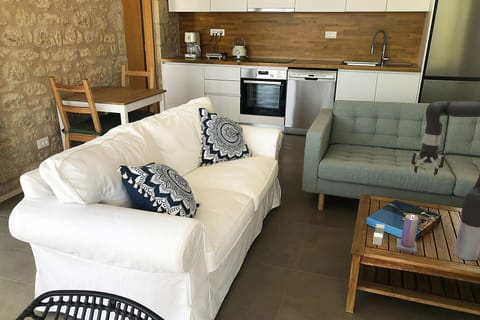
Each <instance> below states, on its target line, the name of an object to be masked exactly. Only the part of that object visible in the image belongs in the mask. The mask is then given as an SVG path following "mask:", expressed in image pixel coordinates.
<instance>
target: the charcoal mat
mask: <svg viewBox="0 0 480 320" xmlns="http://www.w3.org/2000/svg"><path fill="white" fill-rule="evenodd" d="M417 244H418V243H417V241H415V242H414V246H413V247H405V246H403V245H402V244H401V238H399V237H398V238H396V250H399V251H404V252H409V253H413V254H417V253H418V245H417Z"/></svg>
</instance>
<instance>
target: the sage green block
mask: <svg viewBox="0 0 480 320" xmlns="http://www.w3.org/2000/svg"><path fill="white" fill-rule="evenodd" d="M374 230H375V231H374V232H375V233H380V234H383V235H384V232H385V224H381V223H376V224H375V229H374Z"/></svg>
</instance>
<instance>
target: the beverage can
mask: <svg viewBox="0 0 480 320" xmlns="http://www.w3.org/2000/svg"><path fill="white" fill-rule="evenodd" d="M419 221H420V219H419V216H417V215H415V214H410V213H409V214H406V215H405V217H404V222H403V228H402V231H401V232H402V233H401V238H400V239H401V244H402V245H403V246H405V247H413V246H414V242H416V236H417V232H418V231H417V230H418V227H419Z"/></svg>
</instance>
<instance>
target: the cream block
mask: <svg viewBox="0 0 480 320" xmlns="http://www.w3.org/2000/svg"><path fill="white" fill-rule="evenodd" d="M383 238H384V233H383V234H380V233H375V231H374V232H373V237H372V245H374V246H375V245H376V246H382V242H383Z"/></svg>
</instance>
